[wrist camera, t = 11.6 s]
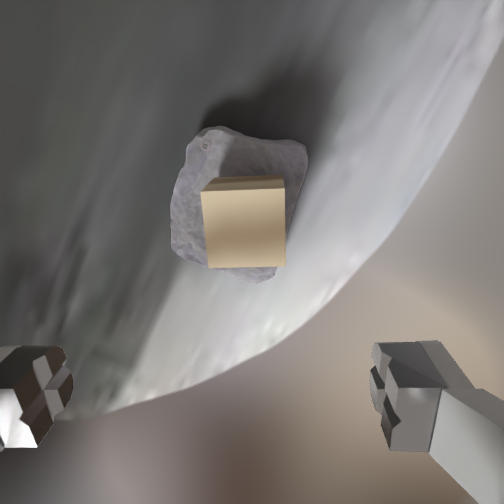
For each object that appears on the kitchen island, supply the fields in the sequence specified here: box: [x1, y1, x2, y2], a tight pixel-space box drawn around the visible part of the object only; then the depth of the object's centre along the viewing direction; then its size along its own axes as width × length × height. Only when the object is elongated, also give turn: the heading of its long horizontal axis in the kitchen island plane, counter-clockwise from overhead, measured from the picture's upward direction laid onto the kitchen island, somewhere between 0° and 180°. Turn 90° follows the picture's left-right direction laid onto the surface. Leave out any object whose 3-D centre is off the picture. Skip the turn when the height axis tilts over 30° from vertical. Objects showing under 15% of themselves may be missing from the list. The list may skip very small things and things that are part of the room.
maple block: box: [200, 175, 286, 268], centre depth 23 cm, size 5×5×5 cm
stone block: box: [170, 126, 308, 283], centre depth 28 cm, size 12×5×10 cm
